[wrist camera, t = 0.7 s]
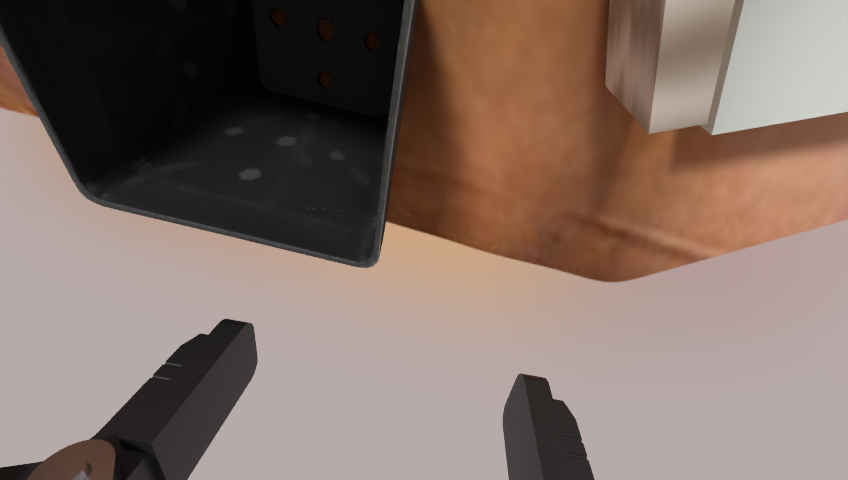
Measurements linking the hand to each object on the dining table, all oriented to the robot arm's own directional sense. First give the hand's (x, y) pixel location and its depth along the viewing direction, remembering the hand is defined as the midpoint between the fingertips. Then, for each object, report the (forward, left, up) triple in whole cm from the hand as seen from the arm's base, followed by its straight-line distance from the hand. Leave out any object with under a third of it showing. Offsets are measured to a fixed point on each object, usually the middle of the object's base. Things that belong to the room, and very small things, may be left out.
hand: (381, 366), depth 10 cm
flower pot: (-8, -9, -27) cm, 29 cm away
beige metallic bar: (-4, +14, -27) cm, 30 cm away
